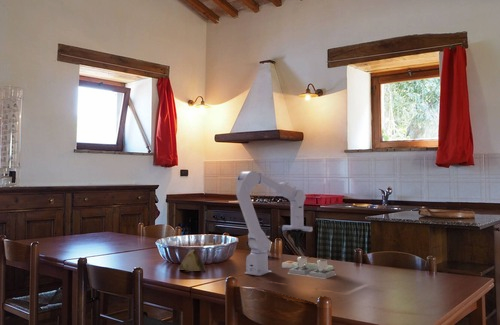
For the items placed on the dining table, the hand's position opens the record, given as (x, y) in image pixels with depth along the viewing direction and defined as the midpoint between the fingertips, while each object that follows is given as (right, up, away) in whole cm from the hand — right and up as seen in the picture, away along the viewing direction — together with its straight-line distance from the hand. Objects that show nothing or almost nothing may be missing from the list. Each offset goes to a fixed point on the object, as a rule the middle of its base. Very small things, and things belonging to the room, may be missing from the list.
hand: (297, 246), depth 206 cm
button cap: (-3, -10, +1) cm, 10 cm away
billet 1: (+1, -9, -12) cm, 15 cm away
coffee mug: (-17, -11, +34) cm, 40 cm away
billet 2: (+8, -8, -18) cm, 22 cm away
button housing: (-3, -10, +1) cm, 10 cm away
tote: (+6, -10, -4) cm, 12 cm away
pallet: (+4, -9, -15) cm, 18 cm away
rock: (-47, -10, -3) cm, 48 cm away
